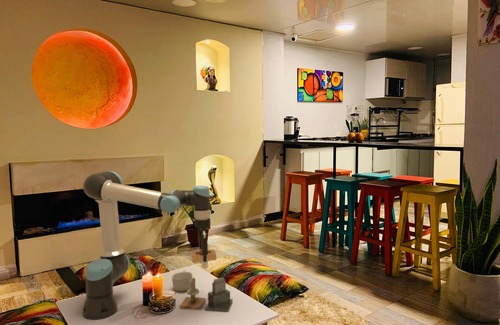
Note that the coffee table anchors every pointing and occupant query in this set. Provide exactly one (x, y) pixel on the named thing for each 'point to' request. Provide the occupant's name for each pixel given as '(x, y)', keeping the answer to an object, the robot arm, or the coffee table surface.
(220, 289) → the grey stepped block
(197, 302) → the stand
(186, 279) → the teacup
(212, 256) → the brown wooden block
